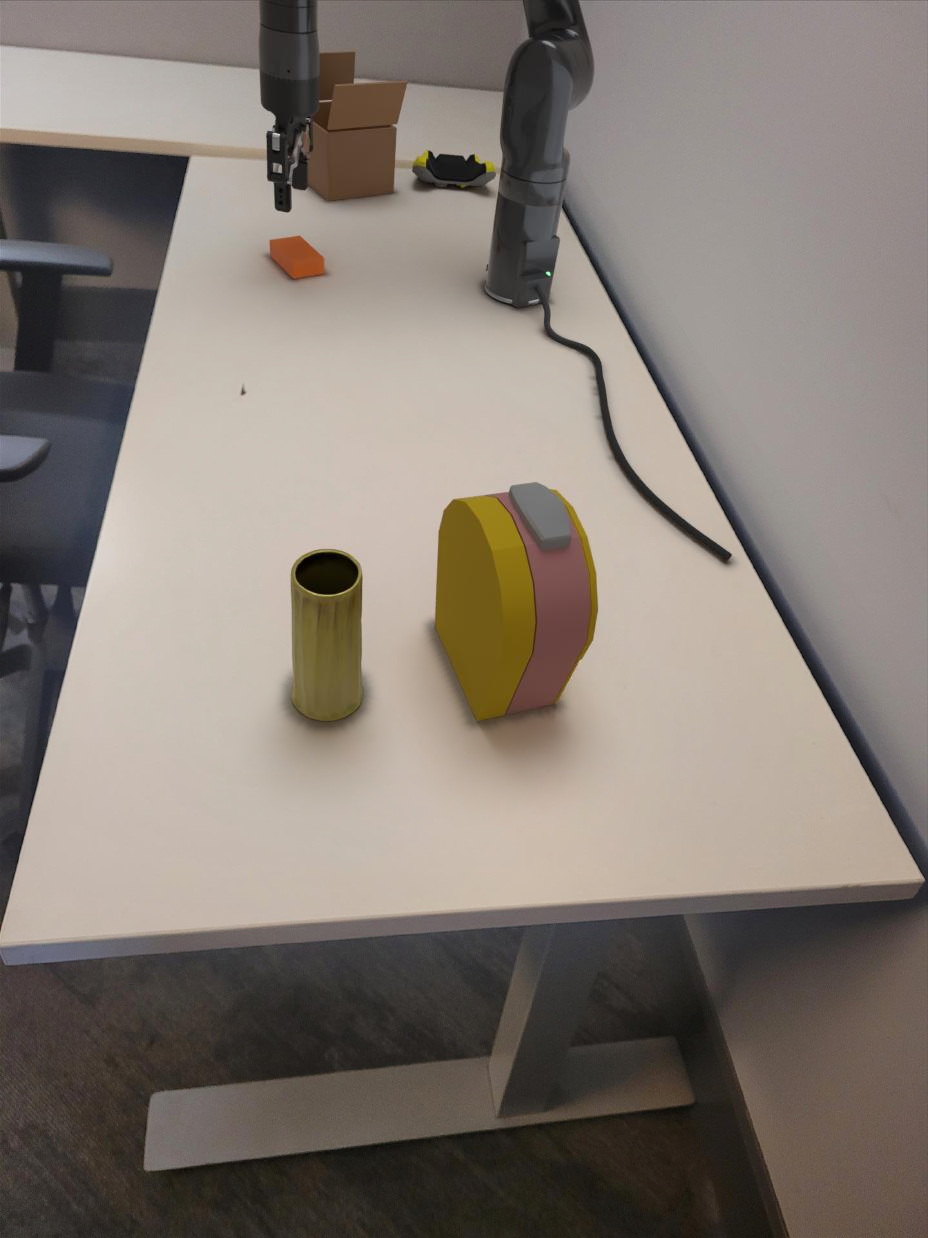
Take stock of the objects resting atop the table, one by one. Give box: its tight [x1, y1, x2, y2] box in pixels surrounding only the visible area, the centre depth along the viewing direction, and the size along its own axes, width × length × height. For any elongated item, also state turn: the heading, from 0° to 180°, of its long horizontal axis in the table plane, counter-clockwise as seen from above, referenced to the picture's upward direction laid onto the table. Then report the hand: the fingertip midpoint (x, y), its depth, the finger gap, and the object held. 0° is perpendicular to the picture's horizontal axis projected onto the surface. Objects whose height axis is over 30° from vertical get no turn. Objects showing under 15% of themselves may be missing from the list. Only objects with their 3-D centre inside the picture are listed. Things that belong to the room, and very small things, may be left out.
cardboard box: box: [288, 50, 398, 202], centre depth 146 cm, size 16×13×18 cm
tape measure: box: [434, 481, 599, 722], centre depth 70 cm, size 15×8×18 cm, turn 20°
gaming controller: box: [411, 149, 497, 188], centre depth 155 cm, size 15×6×10 cm
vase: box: [290, 548, 365, 722], centre depth 67 cm, size 6×6×14 cm
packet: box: [268, 235, 325, 280], centre depth 126 cm, size 8×5×2 cm, turn 33°
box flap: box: [327, 80, 408, 130], centre depth 137 cm, size 7×13×1 cm
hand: (291, 199), depth 120 cm, fingers open, 8 cm apart
